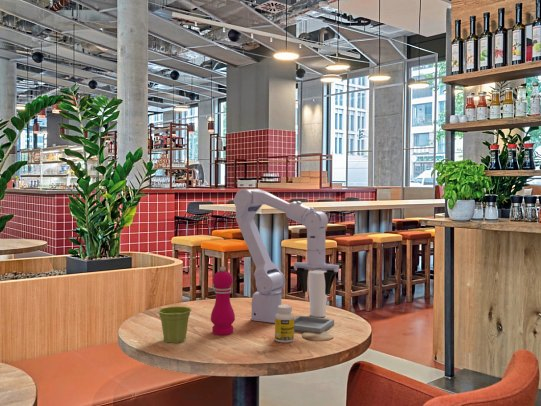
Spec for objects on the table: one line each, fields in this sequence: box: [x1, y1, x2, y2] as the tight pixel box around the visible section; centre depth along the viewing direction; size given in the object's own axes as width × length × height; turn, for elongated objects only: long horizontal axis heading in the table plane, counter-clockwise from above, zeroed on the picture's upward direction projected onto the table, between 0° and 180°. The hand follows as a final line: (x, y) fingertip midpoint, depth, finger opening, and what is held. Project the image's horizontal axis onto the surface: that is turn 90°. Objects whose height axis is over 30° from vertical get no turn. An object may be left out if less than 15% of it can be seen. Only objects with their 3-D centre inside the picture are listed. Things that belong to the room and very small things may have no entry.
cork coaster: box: [302, 331, 334, 342], centre depth 154 cm, size 9×9×1 cm
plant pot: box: [157, 306, 192, 344], centre depth 150 cm, size 9×9×9 cm
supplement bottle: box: [274, 304, 295, 344], centre depth 150 cm, size 5×5×10 cm
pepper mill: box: [210, 265, 236, 336], centre depth 158 cm, size 7×7×20 cm
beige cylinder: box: [307, 270, 328, 318], centre depth 179 cm, size 7×7×15 cm
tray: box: [294, 314, 335, 333], centre depth 164 cm, size 12×12×2 cm
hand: (316, 293), depth 165 cm, fingers open, 7 cm apart
